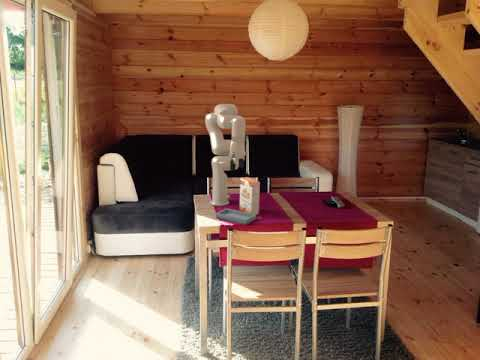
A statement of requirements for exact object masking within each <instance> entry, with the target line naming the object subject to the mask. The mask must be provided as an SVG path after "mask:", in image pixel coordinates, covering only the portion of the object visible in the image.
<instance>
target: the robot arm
mask: <svg viewBox="0 0 480 360" xmlns="http://www.w3.org/2000/svg"><path fill="white" fill-rule="evenodd" d="M238 113H239V111H238V107H237V106H236V105H235V104H234V103H219V104H217V105H216V106H214V109H213V112H210V113H207V114H206V115H205V118H204V121H205V128H206V129H207V132H208V135H209V137H210V145H211V152H212V154H214V155H217V156H214V157H213V158H212V159H211V169H212V194H211V195H212V199H211V200H210V201H209V203H210V204H211V205H212V206H219V207H221V206H227V205H229V204H230V201H229V200H228V199H229V198H231V196H230V194H228V175H227V174H226V173H225V171H236V170H238V168H245V159H246V154H247V151H246V145H245V141H246V118H244V117H243V116H242V115H238ZM219 127H220V128H221V129H224V130H225V129H226V130H228V129H231V139H224V133H223V132H222V131H221V129H220V128H219Z"/></svg>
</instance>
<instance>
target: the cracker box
mask: <svg viewBox="0 0 480 360" xmlns="http://www.w3.org/2000/svg"><path fill="white" fill-rule="evenodd" d="M239 181H240V182H239V210H240V211H241V212H245V213H250V214H255V215H256V216H258V215H260V191H261V190H260V188H261V187H260V186H261V182H260V181H258V180H255V179H254V178H252V177H251V178H250V177H249V176H246V177H240V180H239Z"/></svg>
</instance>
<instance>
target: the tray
mask: <svg viewBox="0 0 480 360" xmlns="http://www.w3.org/2000/svg"><path fill="white" fill-rule="evenodd" d="M256 218H257V215H255V214H250V213H245V212H243V211H242V210H240V211H239V210H235V209H232V208H231V209H230V208H224V209H221V210H220V211H217V212H216V213H215V219H219V220H223V221H228V222H230V223H231V222H232V223H234V224H235V223H236V224H240V225H244V226H247V225H249V224H250V223H252V222H254V221H256V220H257V219H256Z"/></svg>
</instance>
